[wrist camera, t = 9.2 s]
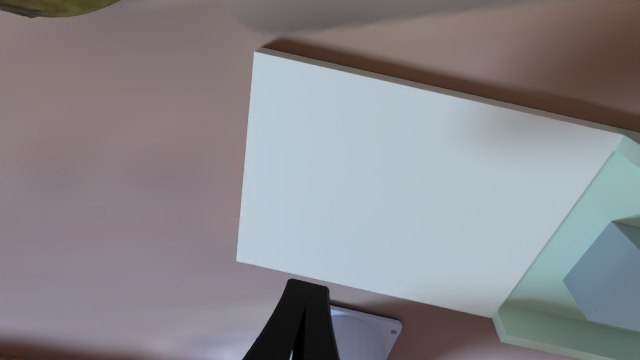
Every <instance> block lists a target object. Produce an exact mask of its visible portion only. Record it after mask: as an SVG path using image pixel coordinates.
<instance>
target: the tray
mask: <svg viewBox="0 0 640 360" xmlns="http://www.w3.org/2000/svg"><path fill="white" fill-rule="evenodd" d="M611 127H612V128H614V129H615V130H617V131H619V132H620V133H622V134H623V135H624V137H623V138H622V139H621V141H620V142H619V144H618V145H617V146H616V148H615V149H614V150H613V152H612V153H611V155H610V156H609V157H608V159H607V160H606V162H605V163H604V164H603V166H602V167H601V168H600V170H599V171H598V173H597V174H596V175H595V177H594V178H593V179H592V181H591V182H590V184H589V185H588V186H587V188H586V189H585V190H584V192H583V193H582V195H581V196H580V197H579V199H578V200H577V202H576V203H575V204H574V206H573V207H572V208H571V210H570V211H569V213H568V214H567V215H566V217H565V218H564V219H563V221H562V222H561V224H560V225H559V226H558V228H557V229H556V230H555V232H554V233H553V235H552V236H551V237H550V239H549V240H548V242H547V243H546V244H545V246H544V247H543V248H542V250H541V251H540V253H539V254H538V255H537V257H536V258H535V259H534V261H533V262H532V264H531V265H530V266H529V268H528V269H527V271H526V272H525V273H524V275H523V276H522V277H521V279H520V280H519V282H518V283H517V284H516V286H515V287H514V288H513V290H512V291H511V293H510V294H509V295H508V297H507V298H506V299H505V301H504V302H503V304H502V305H501V306H500V308H499V309H498V311H497V312H496V313H495V315H494V316H493V317H492V320H493V323H494V326H495V328H496V331H497V334H498V337H499V339H500V342H502V343H506V344H511V345H515V346H520V347H524V348H528V349H533V350H537V351H542V352H546V353H551V354H555V355H560V356H564V357H569V358H573V359H577V360H640V332H638V331H634V330H629V329H625V328H620V327H616V326H612V325H607V324H603V323H598V322H594V321H589V320H587V318H586V317H585V315H584V314H583V312H582V310H581V309H580V307H579V306H578V304H577V303H576V301H575V299H574V298H573V296H572V295H571V293H570V292H569V290H568V289H567V287H566V285H565V284H564V282H563V281H562V280H563V279H564V278H565V276H566V275H567V274H568V273H569V272H570V270H571V269H572V268H573V267H574V265H575V264H576V263H577V262H578V261H579V259H580V258H581V257H582V256H583V254H584V253H585V252H586V251H587V250H588V248H589V247H590V246H591V245H592V244H593V242H594V241H595V240H596V239H597V237H598V236H599V235H600V234H601V233H602V231H603V230H604V229H605V228H606V226H607V225H608V224H609V223H610V222H611V221H613V222H618V223H622V224H627V225H631V226H635V227H640V133H639V132H635V131H631V130H626V129H622V128H617V127H613V126H611Z"/></svg>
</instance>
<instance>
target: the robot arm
mask: <svg viewBox="0 0 640 360" xmlns="http://www.w3.org/2000/svg"><path fill="white" fill-rule="evenodd" d="M401 330H402V323H401V322H400V321H398V320H394V319H389V318H385V317H381V316H376V315H372V314H367V313H363V312H358V311H354V310H349V309H345V308H341V307H336V306H332V305H330V297H329V289H328V287H326V286H322V285H318V284H313V283H309V282H305V281H301V280H296V279H289V280H288V281H287V285H286V287H285V290H284V292H283V294H282V297H281V299H280V301H279V303H278V305H277V306H276V308H275V310H274V312H273V314H272V315H271V317H270V319H269V320H268V322H267V324H266V325H265V327H264V329H263V330H262V332H261V333H260V335H259V336H258V338H257V339H256V341H255V342H254V344H253V345H252V346H251V348H250V349H249V351H248V352H247V354H246V355H245V357H244V358H243V359H242V360H386V359H387V357H388V355H389V353H390V351H391V349H392V347H393V345H394V343H395V342H396V340H397V338H398V336H399V334H400V332H401Z"/></svg>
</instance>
